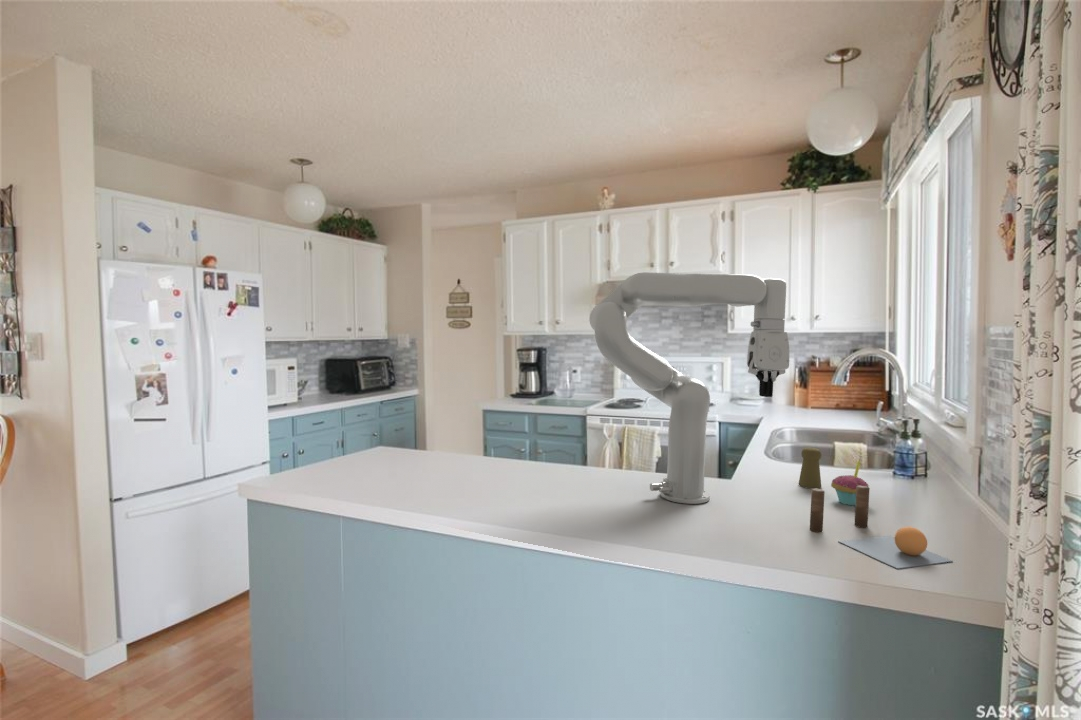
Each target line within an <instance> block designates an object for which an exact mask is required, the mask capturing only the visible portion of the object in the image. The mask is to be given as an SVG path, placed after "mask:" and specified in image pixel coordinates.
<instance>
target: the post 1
mask: <svg viewBox="0 0 1081 720" xmlns="http://www.w3.org/2000/svg"><path fill="white" fill-rule="evenodd" d="M810 495H811V496H810V514H809V515H810V516H809V531H811V532H813V531H814V533H823V532H822V531H823V530H824V512H825V510H824V509H825V490H823V489H821V488H819V489H811V494H810Z"/></svg>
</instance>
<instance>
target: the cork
mask: <svg viewBox="0 0 1081 720" xmlns="http://www.w3.org/2000/svg"><path fill="white" fill-rule="evenodd" d="M801 457H802V464H801V469H800V474H799V479H798V484H799V485H800V487H801V486H803V487H802V488H805V487H807V488H806V489H811V488H819V489H822V480H821V467H820V460H821V458H822V452H821V450H820V449H819V448H816V447H810V446H809V447H804V448H802V450H801ZM799 485H798V486H799Z"/></svg>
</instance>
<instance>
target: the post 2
mask: <svg viewBox="0 0 1081 720" xmlns="http://www.w3.org/2000/svg"><path fill="white" fill-rule="evenodd" d="M870 489H871V488H870V486H868V487H867V486H857V487H856V505H854V506H855V508H854V527H857V526H858V528H861V527H863V529H867V528H868V527H869V526H868V521H869V507H870V506H869V504H870ZM866 527H867V528H866Z"/></svg>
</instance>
